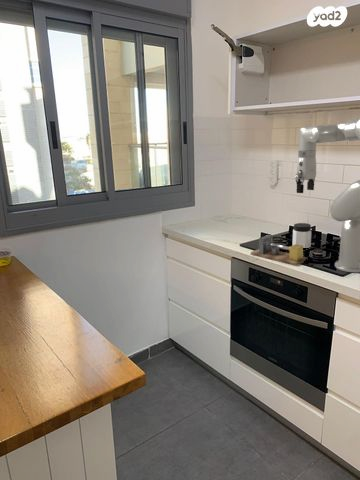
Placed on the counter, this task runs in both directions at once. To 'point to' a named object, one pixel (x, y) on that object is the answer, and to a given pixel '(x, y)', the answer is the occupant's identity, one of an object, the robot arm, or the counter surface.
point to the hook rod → (292, 251)
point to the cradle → (275, 251)
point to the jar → (302, 235)
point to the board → (279, 257)
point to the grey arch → (265, 244)
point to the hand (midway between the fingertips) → (305, 191)
